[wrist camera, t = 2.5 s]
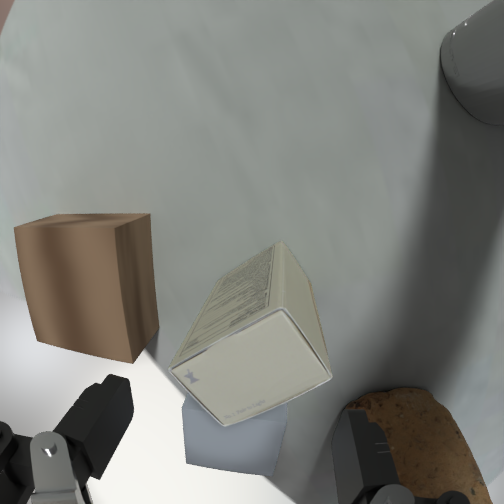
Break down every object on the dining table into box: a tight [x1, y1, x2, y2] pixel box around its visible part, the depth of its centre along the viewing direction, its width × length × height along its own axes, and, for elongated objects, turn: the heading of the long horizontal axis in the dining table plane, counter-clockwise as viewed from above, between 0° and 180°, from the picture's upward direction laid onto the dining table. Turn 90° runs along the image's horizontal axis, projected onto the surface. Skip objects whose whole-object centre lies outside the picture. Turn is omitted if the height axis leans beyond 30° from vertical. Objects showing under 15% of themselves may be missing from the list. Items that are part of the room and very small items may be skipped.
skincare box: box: [168, 241, 332, 427], centre depth 18 cm, size 6×4×12 cm
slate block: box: [182, 393, 287, 476], centre depth 25 cm, size 8×8×6 cm
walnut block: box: [14, 214, 159, 364], centre depth 23 cm, size 10×10×6 cm
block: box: [345, 387, 493, 504], centre depth 17 cm, size 11×8×20 cm
